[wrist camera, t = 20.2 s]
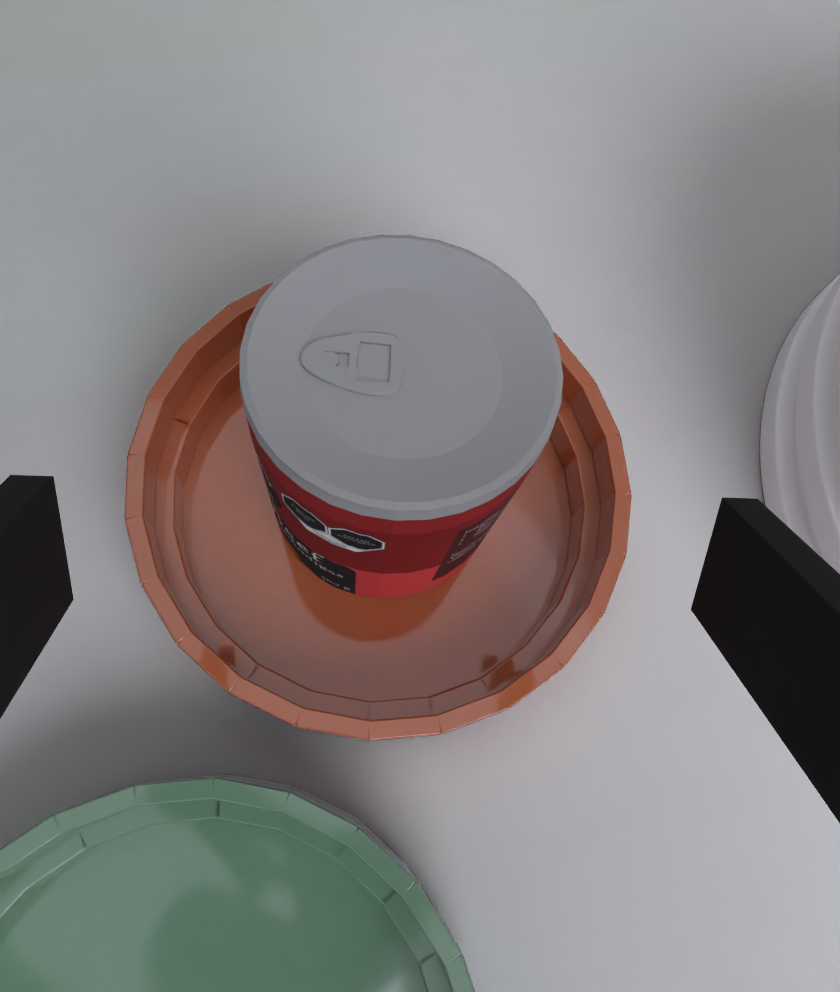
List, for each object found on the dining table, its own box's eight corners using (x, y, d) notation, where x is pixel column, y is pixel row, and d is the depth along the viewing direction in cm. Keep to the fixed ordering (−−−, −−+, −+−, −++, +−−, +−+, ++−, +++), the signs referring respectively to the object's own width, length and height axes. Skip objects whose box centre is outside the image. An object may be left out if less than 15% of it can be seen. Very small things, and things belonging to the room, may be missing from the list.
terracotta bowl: (86, 688, 25) (49, 679, 22) (220, 275, 31) (206, 220, 28) (574, 781, 26) (607, 786, 23) (616, 358, 32) (647, 314, 28)
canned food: (260, 432, 28) (212, 252, 18) (457, 397, 30) (518, 211, 19) (296, 625, 26) (265, 545, 16) (508, 579, 28) (606, 477, 17)
